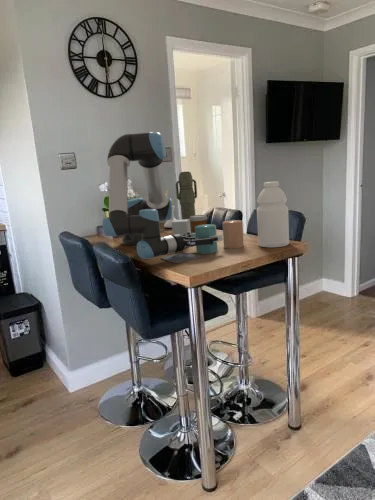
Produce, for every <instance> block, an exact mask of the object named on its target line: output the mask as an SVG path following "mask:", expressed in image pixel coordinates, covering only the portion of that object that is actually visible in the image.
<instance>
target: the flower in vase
mask: <svg viewBox="0 0 375 500" xmlns="http://www.w3.org/2000/svg"><path fill="white" fill-rule="evenodd" d="M164 190H165V194H166V195H167V196H168V195H169V190H168V189H167V188H166V189H164ZM173 204H174V201H173V200H172V217H171V219H170V220H166V221H165V223H164V225H163V227H165V228H169V229H172V222H173V221H175V220H178V219H176V217H175V215H174V211H175V207H176V206H175V205H173Z"/></svg>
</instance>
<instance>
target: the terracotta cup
mask: <svg viewBox="0 0 375 500" xmlns="http://www.w3.org/2000/svg"><path fill="white" fill-rule="evenodd" d="M222 238H223V240H222V241H223V248H225V249H240V248H243V247H244V245H245V244H244V243H245V242H244V225H243V220H240V219H239V220H238V219H237V220H236V219H235V220H233V219H231V220H226V221H222Z"/></svg>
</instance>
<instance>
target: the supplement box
mask: <svg viewBox="0 0 375 500" xmlns="http://www.w3.org/2000/svg"><path fill="white" fill-rule="evenodd" d="M171 230H172V235H175V234H180V235H183V234H186V235H187V233H188V232H190V235H191V228H190V219H185V220H182V219H177V220H175V221H173V222H172V228H171ZM189 247H190V246H188V247H186V246H185V247H184V248H189Z"/></svg>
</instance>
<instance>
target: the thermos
mask: <svg viewBox="0 0 375 500" xmlns="http://www.w3.org/2000/svg"><path fill="white" fill-rule="evenodd" d="M197 187H198V186H197V181H196V180H195V179H193V175H192V173H191V171H181V172H179V173H178V180H177V181H176V183H175V193H176V199H177V200H178V201H179V205H180V212H181V220H185V219H190V216H194V215H196V208H195V205H196V204H195V203H196V199H198V188H197ZM190 228H191V234H192V233H193V232H192V227H191V222H190Z"/></svg>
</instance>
